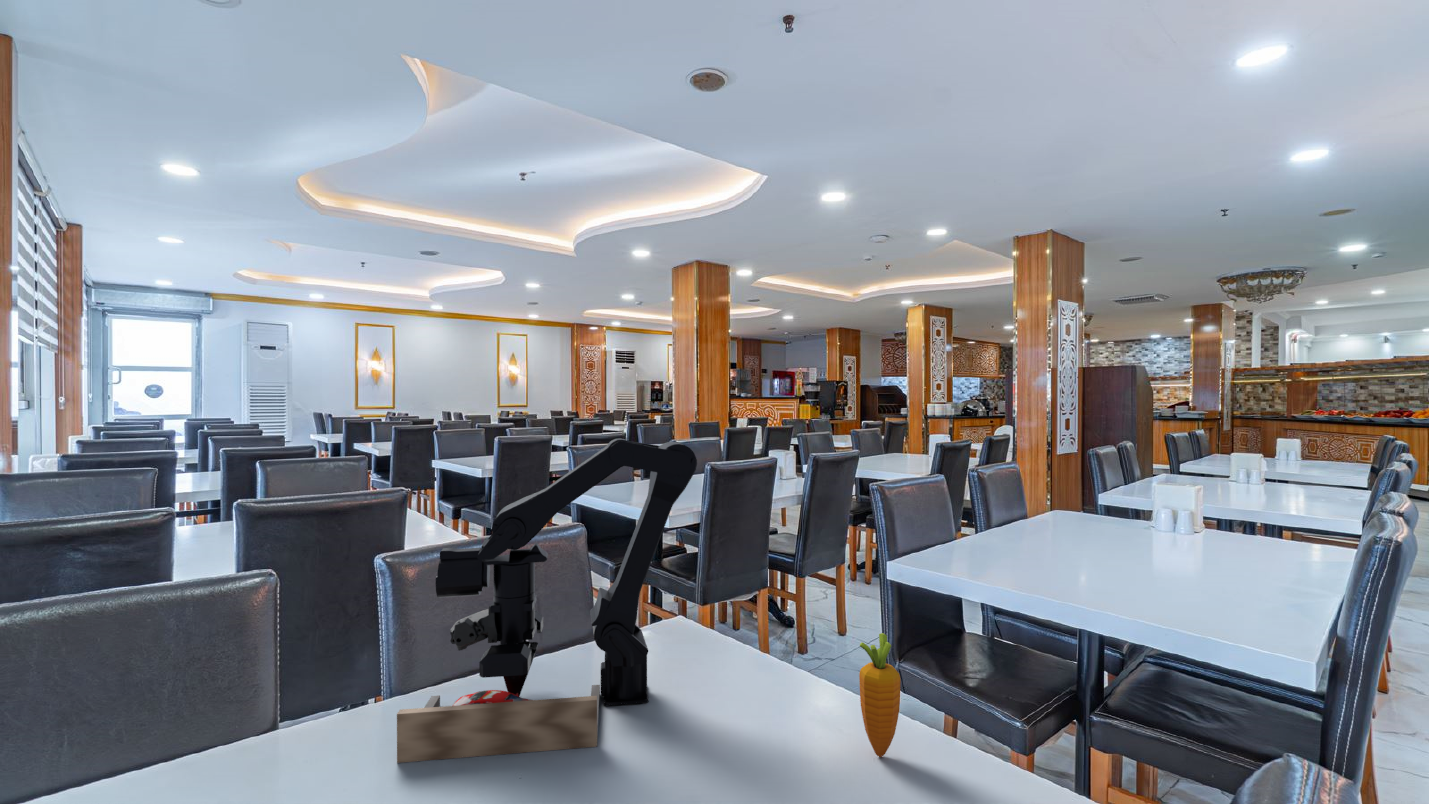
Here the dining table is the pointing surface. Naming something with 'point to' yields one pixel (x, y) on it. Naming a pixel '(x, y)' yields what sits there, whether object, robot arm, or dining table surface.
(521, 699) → the race car
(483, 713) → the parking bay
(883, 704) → the carrot
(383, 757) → the dining table surface
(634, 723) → the dining table surface
